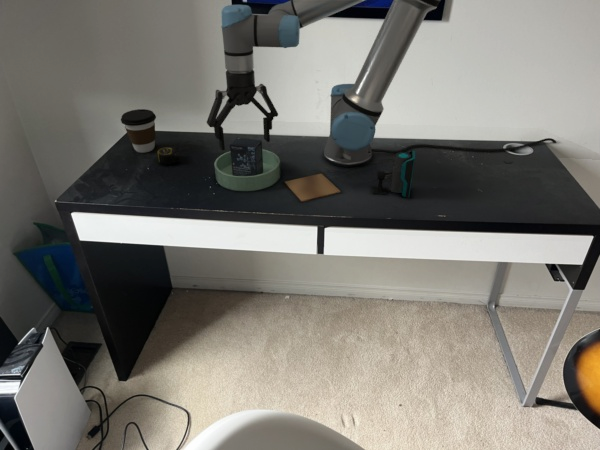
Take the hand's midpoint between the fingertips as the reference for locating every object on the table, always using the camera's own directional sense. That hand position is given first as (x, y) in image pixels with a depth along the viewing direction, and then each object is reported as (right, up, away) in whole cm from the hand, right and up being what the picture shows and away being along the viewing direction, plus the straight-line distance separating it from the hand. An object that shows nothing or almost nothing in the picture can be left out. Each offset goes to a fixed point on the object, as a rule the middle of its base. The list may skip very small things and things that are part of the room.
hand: (244, 144), depth 137 cm
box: (0, -8, +6) cm, 10 cm away
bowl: (0, -8, +6) cm, 10 cm away
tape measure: (-25, -3, +14) cm, 29 cm away
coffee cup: (-36, +2, +22) cm, 42 cm away
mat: (+19, -13, -1) cm, 23 cm away
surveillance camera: (+42, -14, -3) cm, 44 cm away
